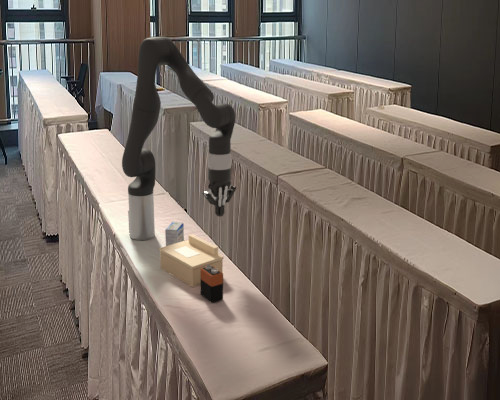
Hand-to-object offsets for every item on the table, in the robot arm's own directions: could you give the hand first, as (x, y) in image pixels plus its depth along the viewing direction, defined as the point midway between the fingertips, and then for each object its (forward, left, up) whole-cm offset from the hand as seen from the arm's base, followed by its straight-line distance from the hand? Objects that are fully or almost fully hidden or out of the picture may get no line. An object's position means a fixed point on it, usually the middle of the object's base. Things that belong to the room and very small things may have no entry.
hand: (219, 215), depth 210 cm
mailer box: (0, -12, -17) cm, 21 cm away
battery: (+18, -18, -18) cm, 31 cm away
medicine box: (-20, -5, -18) cm, 27 cm away
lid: (0, -12, -11) cm, 16 cm away
